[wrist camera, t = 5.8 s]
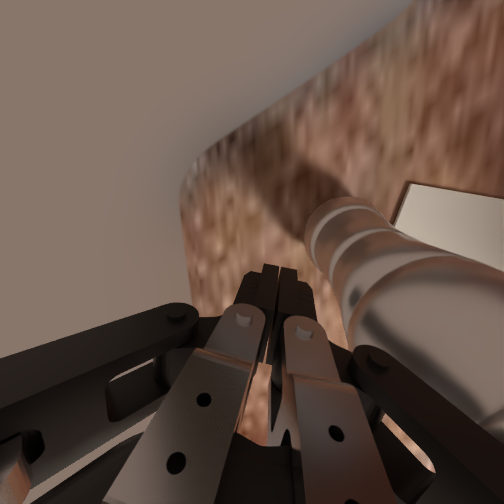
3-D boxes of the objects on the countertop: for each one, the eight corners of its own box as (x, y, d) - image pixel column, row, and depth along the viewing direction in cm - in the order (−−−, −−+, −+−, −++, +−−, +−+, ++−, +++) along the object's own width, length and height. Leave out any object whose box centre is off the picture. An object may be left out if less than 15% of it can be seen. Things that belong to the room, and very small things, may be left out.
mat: (657, 225, 19) (664, 227, 19) (572, 325, 23) (577, 328, 22) (409, 183, 21) (411, 183, 20) (369, 284, 24) (370, 286, 24)
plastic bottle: (383, 201, 21) (1114, 502, 3) (353, 267, 24) (647, 647, 6) (313, 183, 21) (652, 394, 3) (291, 252, 24) (384, 600, 5)
